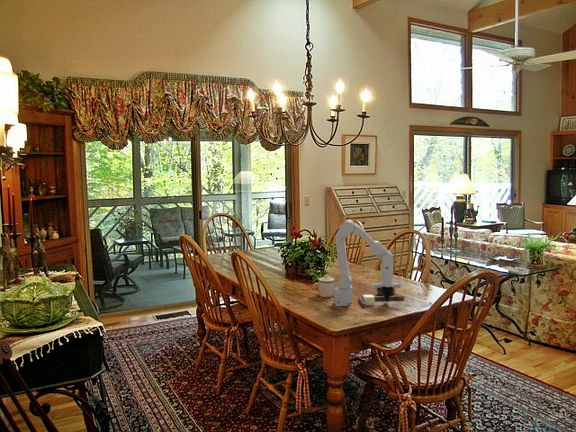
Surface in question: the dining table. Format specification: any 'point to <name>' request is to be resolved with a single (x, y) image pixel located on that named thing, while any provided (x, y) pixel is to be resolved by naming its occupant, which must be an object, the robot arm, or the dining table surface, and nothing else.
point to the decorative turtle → (382, 292)
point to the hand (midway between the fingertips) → (386, 301)
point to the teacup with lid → (325, 286)
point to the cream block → (369, 299)
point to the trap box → (381, 301)
